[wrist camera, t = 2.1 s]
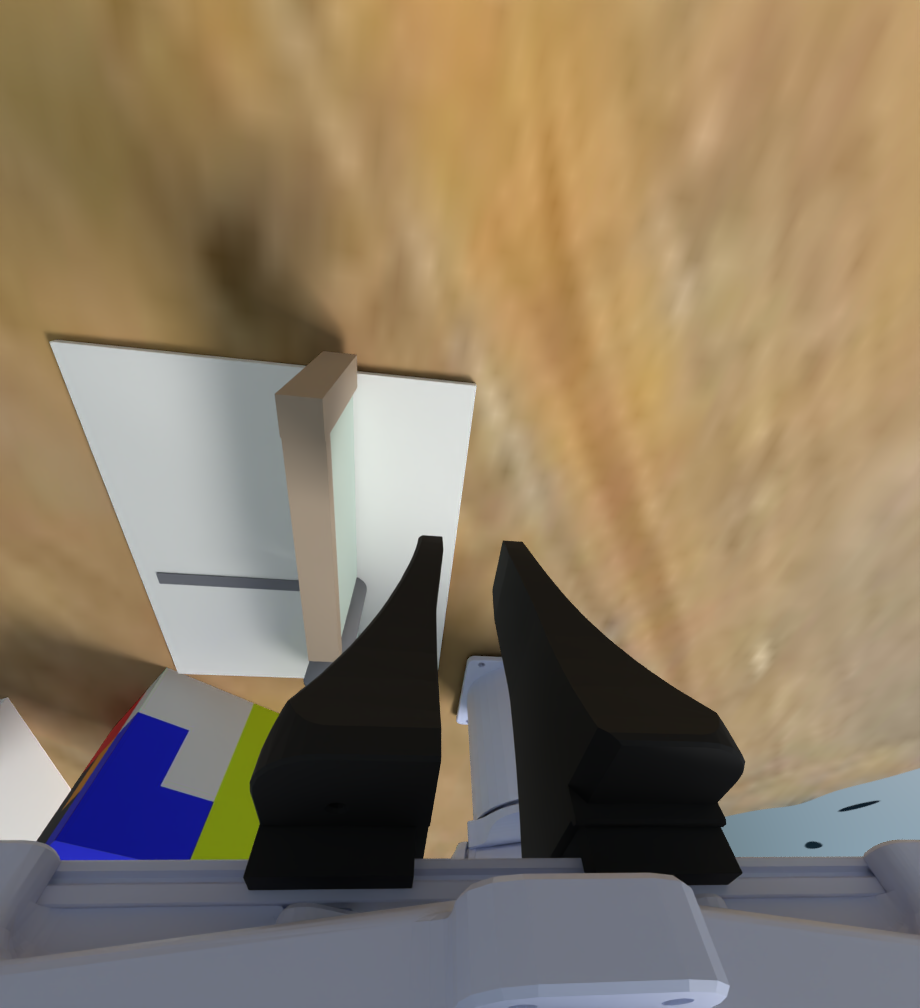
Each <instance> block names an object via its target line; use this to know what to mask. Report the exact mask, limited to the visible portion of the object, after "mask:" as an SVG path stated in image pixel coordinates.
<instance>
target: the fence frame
mask: <svg viewBox="0 0 920 1008" xmlns="http://www.w3.org/2000/svg"><path fill="white" fill-rule="evenodd" d="M366 592H367V586H366V584H365V583H364V581H362V580H361V579H360V578H358V577H357V578H356V582H355V586H354V590H353V594H352V598H351V602H350V606H349V609H348V613H347V617H346V621H345V625H344V629H343V633H342V637H341V640H342V653H343V652H344V651H345V650H346V649H347V648H348V647H349V646H350V645H351V644H352V643H353V642H354V641H355V640H356V639H357V638H358V637H359V636H358V629H359V624H360V620H361V615H362V611H363V606H364V601H365V597H366ZM332 663H333V662H321V661H309V664H308V667H307V670H306V673H305V677H304V684H305V686H307V685H308V684H309V683H310V682H311V681H313V680H314V679H315V678H316V677H318V676H319V675H320V674H321V673H322V672H323V671H324V670H325V669H327V668H328V667H329V666H330V665H331V664H332Z"/></svg>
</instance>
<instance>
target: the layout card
mask: <svg viewBox="0 0 920 1008" xmlns="http://www.w3.org/2000/svg"><path fill="white" fill-rule="evenodd" d="M49 342H50V345H51V347H52V350H53V352H54V355H55V358H56V360H57V363H58V365H59V368H60V370H61V373H62V376H63V378H64V381H65V383H66V386H67V388H68V391H69V394H70V396H71V399H72V401H73V404H74V406H75V409H76V412H77V414H78V417H79V419H80V422H81V424H82V427H83V430H84V432H85V435H86V437H87V440H88V443H89V445H90V448H91V450H92V453H93V455H94V458H95V461H96V463H97V466H98V468H99V471H100V473H101V476H102V479H103V481H104V484H105V486H106V489H107V491H108V494H109V497H110V499H111V502H112V504H113V507H114V509H115V512H116V515H117V517H118V520H119V522H120V525H121V527H122V530H123V533H124V535H125V538H126V540H127V543H128V545H129V548H130V551H131V553H132V556H133V558H134V561H135V563H136V566H137V569H138V571H139V574H140V576H141V579H142V581H143V584H144V587H145V589H146V592H147V594H148V597H149V599H150V602H151V605H152V607H153V610H154V612H155V615H156V617H157V620H158V623H159V625H160V628H161V630H162V633H163V636H164V638H165V641H166V643H167V646H168V648H169V651H170V654H171V656H172V659H173V661H174V664H175V666H176V669H177V672H178V674H203V675H231V676H259V677H288V678H304V677H305V673H306V670H307V667H308V664H309V661H308V653H307V645H306V637H305V629H304V621H303V613H302V604H301V596H300V588H299V580H298V572H297V564H296V555H295V547H294V539H293V531H292V523H291V515H290V506H289V498H288V490H287V482H286V474H285V466H284V457H283V449H282V441H281V438H280V435H279V426H278V418H277V410H276V402H275V393H276V392H277V391H279V390H280V389H281V388H282V387H283V386H284V385H285V384H287V383H288V382H289V381H290V380H291V379H292V378H293V377H294V376H296V375H297V374H298V373H299V372H300V371H301V370H302V369H304V368H305V367H306V366H304V365H295V364H285V363H276V362H266V361H256V360H247V359H237V358H228V357H218V356H209V355H199V354H189V353H180V352H170V351H161V350H151V349H141V348H132V347H122V346H113V345H103V344H94V343H84V342H74V341H65V340H53V341H49ZM475 393H476V383H467V382H457V381H448V380H438V379H429V378H419V377H410V376H400V375H390V374H381V373H371V372H362V371H357V389H356V391H355V392H354V394H353V416H354V460H355V504H356V548H357V577H358V578H360V579H361V580H362V581H364V583H365V584H366V586H367V592H366V597H365V601H364V606H363V611H362V615H361V620H360V624H359V629H358V636H359V635H360V634H361V633H362V632H363V631H364V630H365V629H366V627H367V626H368V625H369V624H370V623H371V621H372V620H373V619H374V618H375V616H376V615H377V614H378V613H379V611H380V610H381V609H382V607H383V606H384V604H385V603H386V602H387V600H388V599H389V597H390V596H391V594H392V592H393V591H394V589H395V588H396V586H397V585H398V583H399V581H400V580H401V578H402V576H403V574H404V572H405V571H406V569H407V567H408V565H409V563H410V561H411V559H412V556H413V554H414V552H415V549H416V546H417V542H418V538H419V537H420V536H422V535H428V536H442V538H443V558H442V567H441V575H440V584H439V592H438V601H437V609H436V621H437V661H438V666H439V659H440V651H441V644H442V637H443V629H444V622H445V614H446V607H447V600H448V592H449V585H450V578H451V570H452V563H453V555H454V548H455V541H456V533H457V526H458V518H459V511H460V504H461V496H462V489H463V481H464V474H465V467H466V459H467V452H468V445H469V437H470V430H471V422H472V415H473V408H474V400H475Z"/></svg>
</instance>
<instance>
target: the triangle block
mask: <svg viewBox="0 0 920 1008" xmlns="http://www.w3.org/2000/svg"><path fill="white" fill-rule="evenodd" d="M70 791H71V789H70V787H69V786H68V784H67V783H66V781H65V780H64V778H63V777H62V775H61V774H60V773H59V771H58V770H57V768H56V767H55V765H54V764H53V762H52V761H51V759H50V758H49V757H48V755H47V754H46V752H45V751H44V749H43V748H42V746H41V745H40V743H39V742H38V740H37V739H36V738H35V736H34V735H33V733H32V732H31V730H30V729H29V727H28V726H27V724H26V723H25V721H24V720H23V719H22V717H21V716H20V714H19V713H18V711H17V710H16V708H15V707H14V705H13V704H12V702H11V701H10V700H9V698H8V697H6V698H3V699H0V840H29V841H37V839H38V838H39V836H40V835H41V833H42V832H43V830H44V829H45V828H46V826H47V825H48V823H49V822H50V820H51V819H52V817H53V816H54V814H55V813H56V811H57V810H58V808H59V807H60V805H61V804H62V803H63V801H64V800H65V798H66V797H67V795H68V794H69V792H70Z"/></svg>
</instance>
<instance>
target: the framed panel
mask: <svg viewBox="0 0 920 1008" xmlns="http://www.w3.org/2000/svg"><path fill="white" fill-rule="evenodd" d="M356 389H357V355H355V354H345V353H336V352H327V351H323V352H322V353H321V354H319V355H318V356H317V357H316V358H315V359H314V360H313V361H311V362H310V363H309V364H308V365H307V366H306V367H305V368H304V369H302V370H301V371H300V372H299V373H298V374H297V375H296V376H294V377H293V378H292V379H291V380H290V381H289V382H288V383H287V384H285V385H284V386H283V387H282V388H281V389H280V390H279V391H277V392H276V393H275V402H276V410H277V418H278V426H279V435H280V438H281V441H282V449H283V457H284V466H285V474H286V482H287V490H288V498H289V506H290V515H291V523H292V531H293V539H294V547H295V555H296V564H297V572H298V580H299V588H300V596H301V604H302V613H303V621H304V629H305V637H306V645H307V653H308V661H321V662H334V661H335V660H336V659H337V658H338V657H339V656H340V655H341V654H342V640H341V637H342V633H343V629H344V625H345V621H346V617H347V613H348V609H349V606H350V602H351V598H352V594H353V590H354V586H355V582H356V578H357V548H356V504H355V460H354V416H353V394H354V392H355V391H356Z"/></svg>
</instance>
